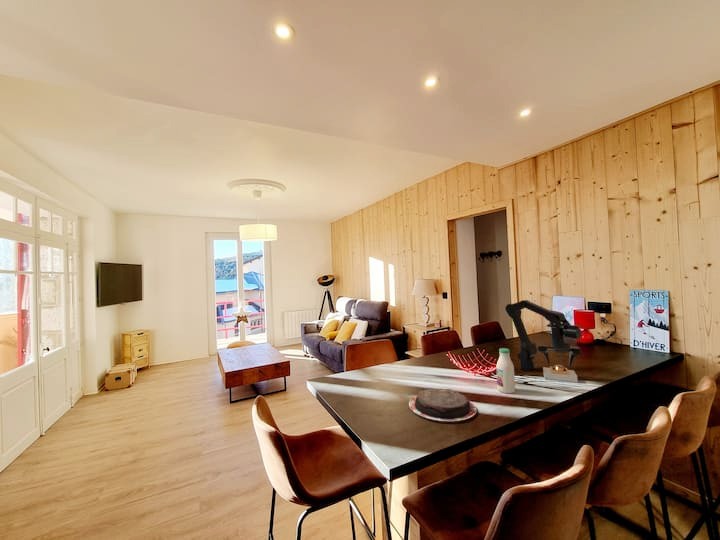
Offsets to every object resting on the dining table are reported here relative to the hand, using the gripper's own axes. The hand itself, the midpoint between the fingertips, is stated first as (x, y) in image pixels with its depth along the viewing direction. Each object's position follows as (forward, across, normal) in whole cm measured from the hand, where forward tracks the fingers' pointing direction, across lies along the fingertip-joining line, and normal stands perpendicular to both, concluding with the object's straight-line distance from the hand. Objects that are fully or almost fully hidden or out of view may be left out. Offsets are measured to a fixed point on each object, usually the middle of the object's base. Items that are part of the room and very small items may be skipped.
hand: (559, 365), depth 154 cm
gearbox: (+7, 0, 0) cm, 7 cm away
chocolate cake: (+8, -49, -61) cm, 79 cm away
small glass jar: (+6, 0, 0) cm, 6 cm away
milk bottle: (+7, -25, -30) cm, 40 cm away
